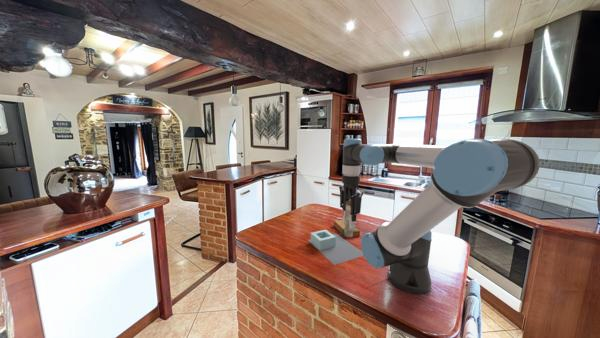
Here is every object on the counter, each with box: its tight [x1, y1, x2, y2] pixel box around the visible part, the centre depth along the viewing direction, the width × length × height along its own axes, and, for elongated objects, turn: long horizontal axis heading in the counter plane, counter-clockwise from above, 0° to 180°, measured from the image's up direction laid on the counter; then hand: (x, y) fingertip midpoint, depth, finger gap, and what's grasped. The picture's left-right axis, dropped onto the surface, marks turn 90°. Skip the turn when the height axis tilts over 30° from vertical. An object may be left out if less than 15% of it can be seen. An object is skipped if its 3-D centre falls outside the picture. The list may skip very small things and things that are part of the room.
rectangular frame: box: [310, 229, 336, 251], centre depth 111 cm, size 9×9×5 cm
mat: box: [307, 232, 364, 266], centre depth 109 cm, size 24×18×1 cm
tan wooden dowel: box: [344, 200, 353, 238], centre depth 99 cm, size 4×4×16 cm
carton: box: [333, 219, 361, 239], centre depth 126 cm, size 8×16×4 cm, turn 18°
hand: (349, 225), depth 99 cm, fingers closed on tan wooden dowel, 3 cm apart
